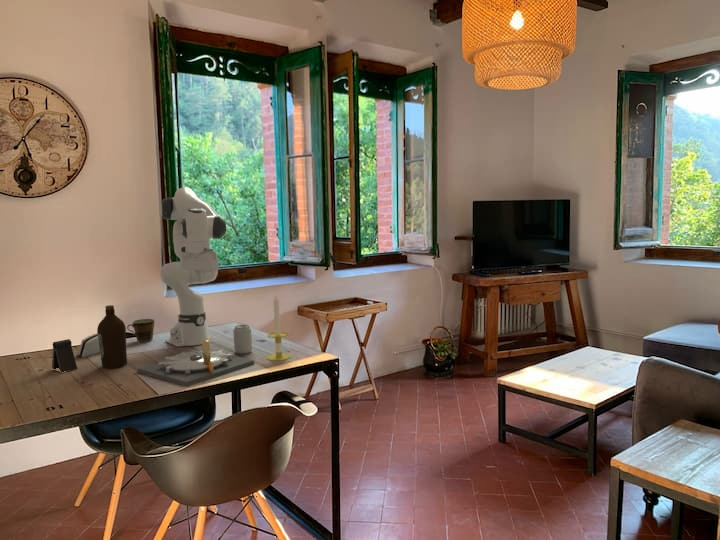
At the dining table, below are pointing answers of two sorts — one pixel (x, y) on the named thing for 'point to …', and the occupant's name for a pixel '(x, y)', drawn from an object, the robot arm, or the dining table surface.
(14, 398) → the dining table surface
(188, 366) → the sprocket
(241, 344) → the can
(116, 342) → the olive oil
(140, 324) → the ceramic cup
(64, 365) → the door stopper
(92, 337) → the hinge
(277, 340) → the candle
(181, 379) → the index plate
